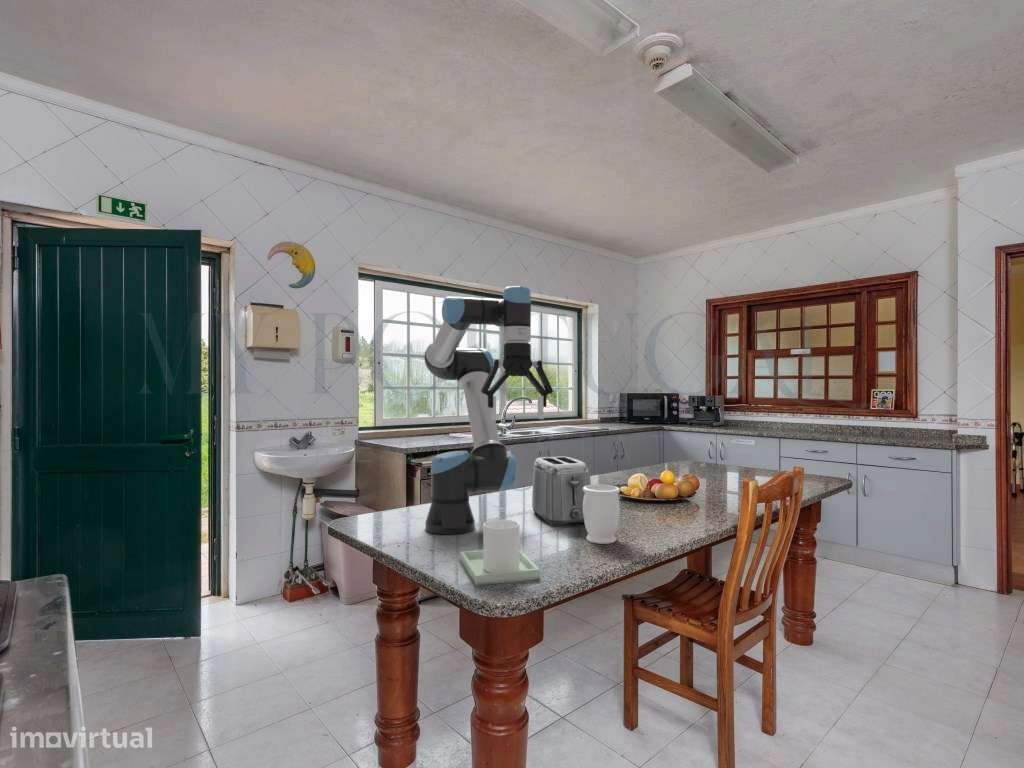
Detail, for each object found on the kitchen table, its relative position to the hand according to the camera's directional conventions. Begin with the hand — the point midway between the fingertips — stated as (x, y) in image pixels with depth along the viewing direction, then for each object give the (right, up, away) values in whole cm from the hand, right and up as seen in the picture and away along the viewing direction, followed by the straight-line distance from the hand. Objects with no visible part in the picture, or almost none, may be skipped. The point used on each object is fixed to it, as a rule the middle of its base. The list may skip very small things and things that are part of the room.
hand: (517, 419), depth 151 cm
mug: (-5, -34, -20) cm, 40 cm away
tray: (-5, -35, -20) cm, 40 cm away
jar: (+24, -35, +4) cm, 42 cm away
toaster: (+15, -35, +32) cm, 49 cm away
